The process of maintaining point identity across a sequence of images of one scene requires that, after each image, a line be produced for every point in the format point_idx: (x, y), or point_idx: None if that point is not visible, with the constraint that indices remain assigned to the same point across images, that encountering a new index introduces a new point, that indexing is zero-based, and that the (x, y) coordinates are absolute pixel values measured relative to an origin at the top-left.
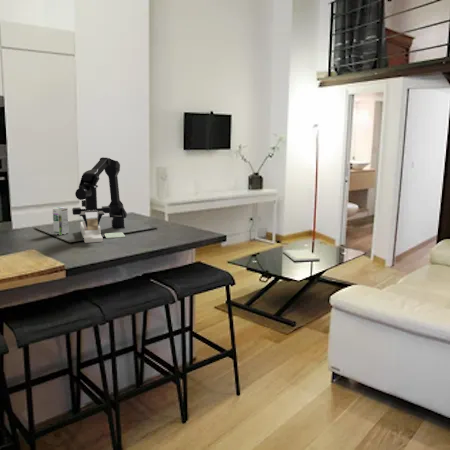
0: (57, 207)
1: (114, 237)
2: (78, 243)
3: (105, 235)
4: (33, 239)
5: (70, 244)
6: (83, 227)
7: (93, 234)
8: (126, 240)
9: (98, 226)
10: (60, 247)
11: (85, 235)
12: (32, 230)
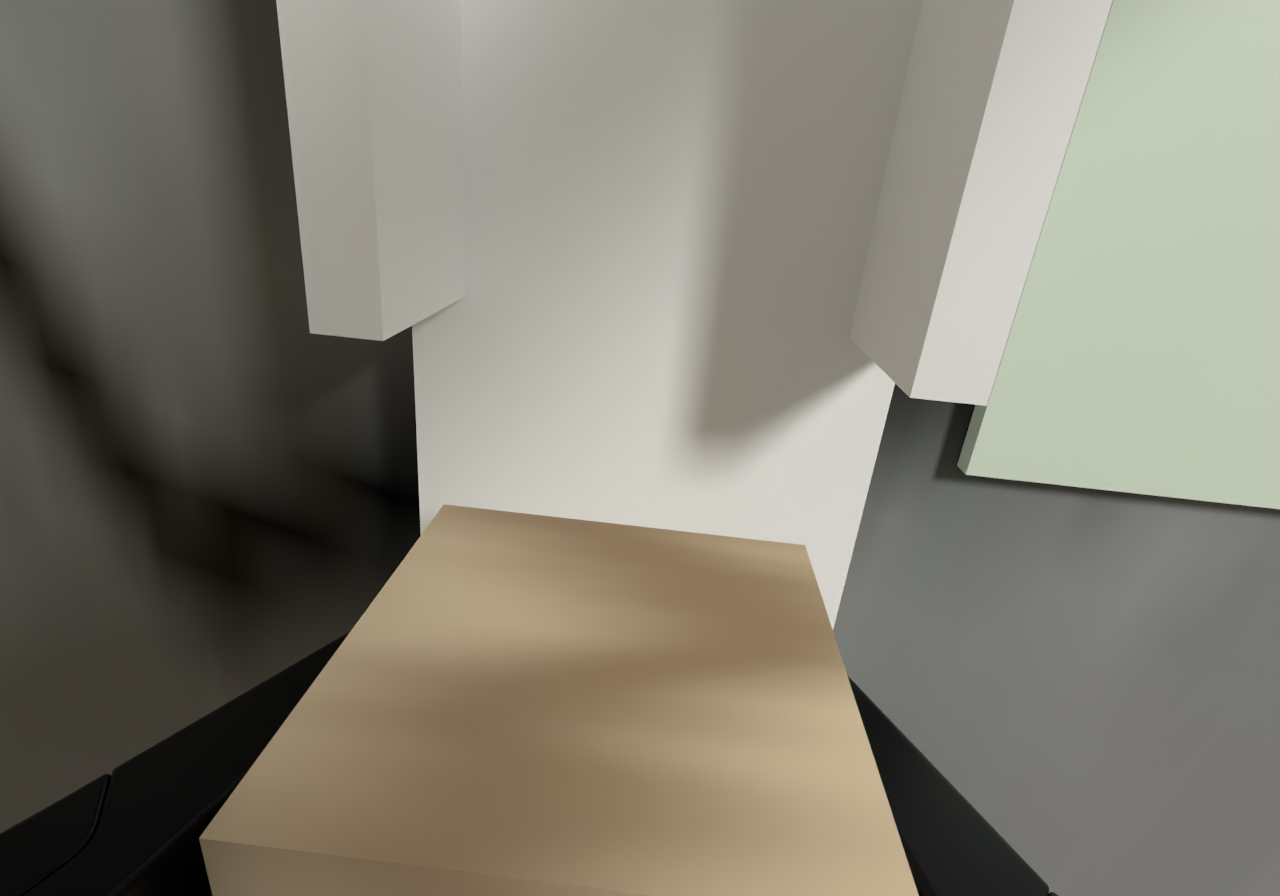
0: None
1: (1157, 489)
2: (338, 618)
3: (1049, 230)
4: None
5: (200, 629)
6: (326, 117)
7: (692, 333)
8: (1244, 747)
9: (995, 156)
10: (66, 733)
11: (466, 368)
12: None
